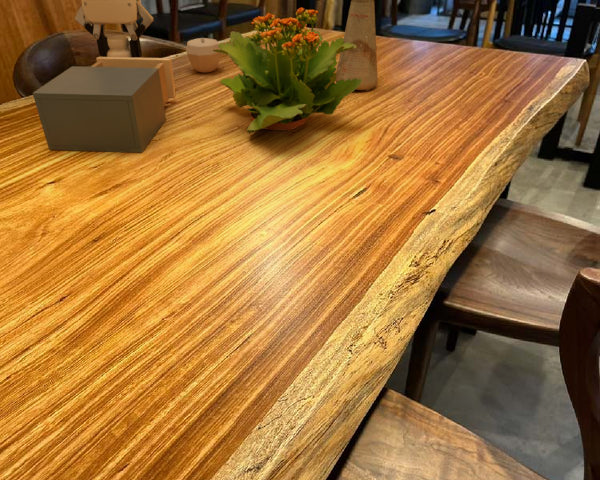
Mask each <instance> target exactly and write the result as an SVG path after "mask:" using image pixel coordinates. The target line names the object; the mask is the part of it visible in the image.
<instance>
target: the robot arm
mask: <svg viewBox="0 0 600 480" xmlns="http://www.w3.org/2000/svg"><path fill="white" fill-rule="evenodd" d="M141 19H142V21H141V23H139V25H138V24H137V21H138V20H141ZM74 20H75V21H76V22H77V23H78V24H79V25H80V26H82V28H84V29H85V31H87V32H88V33H89V34H90V35H91V36H92V37H93V39H94V40H96V45H97V49H98V54H99V57H107V52H108V51H109V50H110V47H109V45H108V42H107V38H108V37H107V36H106V35H105V29H106V28H105V27H106V24H107V25H108V24H111V25H112V24H113V25H115V24H116V25H124V26H125V28H126V29H127V32H128V34H129V36H130V39H129V48H130V50H131V56H132V58H142V56H143V53H142V52H143V51H142V46H141V45H142V44H141V39H140V38H141V37H142V35H143V34H144V32H145V31H146V30H147V28H148V27H149V26H150V25H151V24H152V23H153V22H154V17H153V16H152V14H150V13H149V11H148V10H147V9H146V8H145V6H144V5H143V4H142V1H141V0H81V5H80V7H79V9H78V10H77V12H76V14H75V16H74Z"/></svg>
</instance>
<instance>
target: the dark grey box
mask: <svg viewBox="0 0 600 480" xmlns="http://www.w3.org/2000/svg"><path fill="white" fill-rule="evenodd" d="M32 96H33V98H34V102H35V107H36V110H37V113H38V117H39V120H40V124H41V127H42V131H43V133H44V138H45V141H46V144H47V147H48V150H49V151H73V152H75V151H76V152H103V153H105V152H106V153H139V154H140V153H141V154H142V153H143V152H144V151H145V149H147V147H148V145H149V144H150V143H151V142H152V140H153V138H154V137H155V136H156V135H157V133H158V132H159V130H160V129H161V128H162V127H163V125H164V123H165V122H166V121H167V118H166V117H167V116H166V111H165V110H166V109H165V104H164V103H163V96H162V89H161V82H160V75H159V69H158V68H123V67H91V66H79V65H78V66H76V65H75V66H74V65H72V66H70V67H69V68H68V69H66V70H64V71H63V72H62V73H60V74H58V75H57V76H56V77H54V78H53V79H51V80H50V81H48V82H47V83H45V84H44V85H42V86H40V87H39V88H38V89H36V90H34V91H33V92H32Z"/></svg>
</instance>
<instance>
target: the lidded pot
mask: <svg viewBox="0 0 600 480" xmlns="http://www.w3.org/2000/svg"><path fill="white" fill-rule="evenodd" d="M219 44H220V42H219V41H218V40H217V39H214V38H207V37H202V38H201V37H199V38H198V37H197V38H194V39H190V40H188V41H187V42H186V48H185V49H186V50H185V51H186V54H187V57H188V61H189V62H190V64H191V67H192V68H193V69H194V70H195V71H196V72H197V73H204V74H205V73H211V72H214V71H215V70H216V69H217V67H218V65H219V64H220V61H221V60H220V59H221V54H222V53H219V52H214V51H213V50H214V49H220V48H219V47H218V45H219Z"/></svg>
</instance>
